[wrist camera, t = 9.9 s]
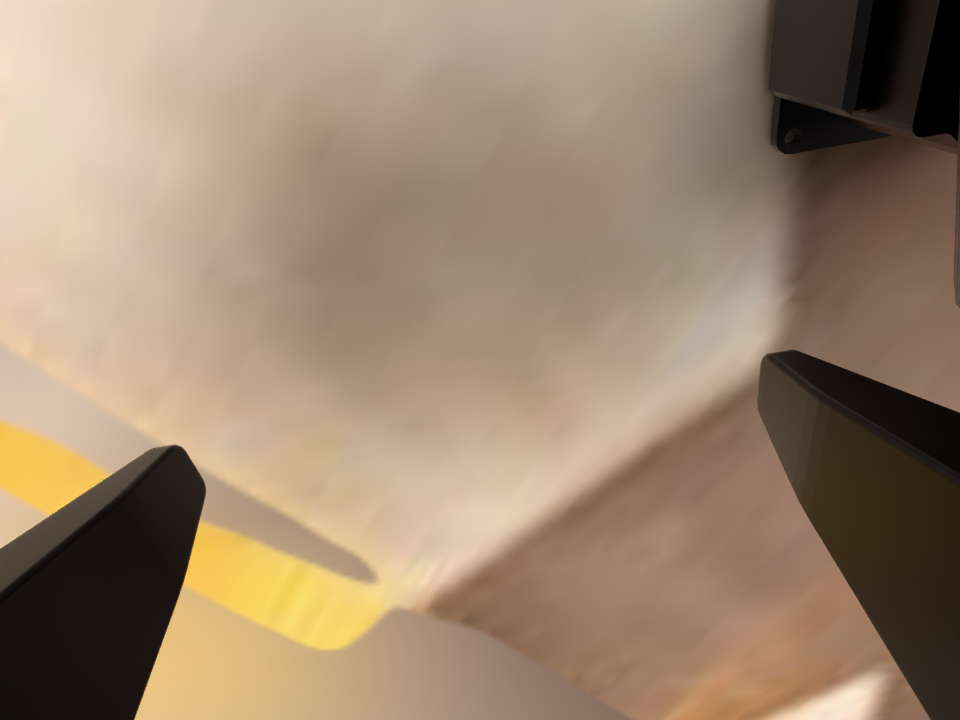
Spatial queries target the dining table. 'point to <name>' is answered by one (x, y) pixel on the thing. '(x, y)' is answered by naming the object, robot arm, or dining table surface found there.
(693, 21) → the dining table surface
